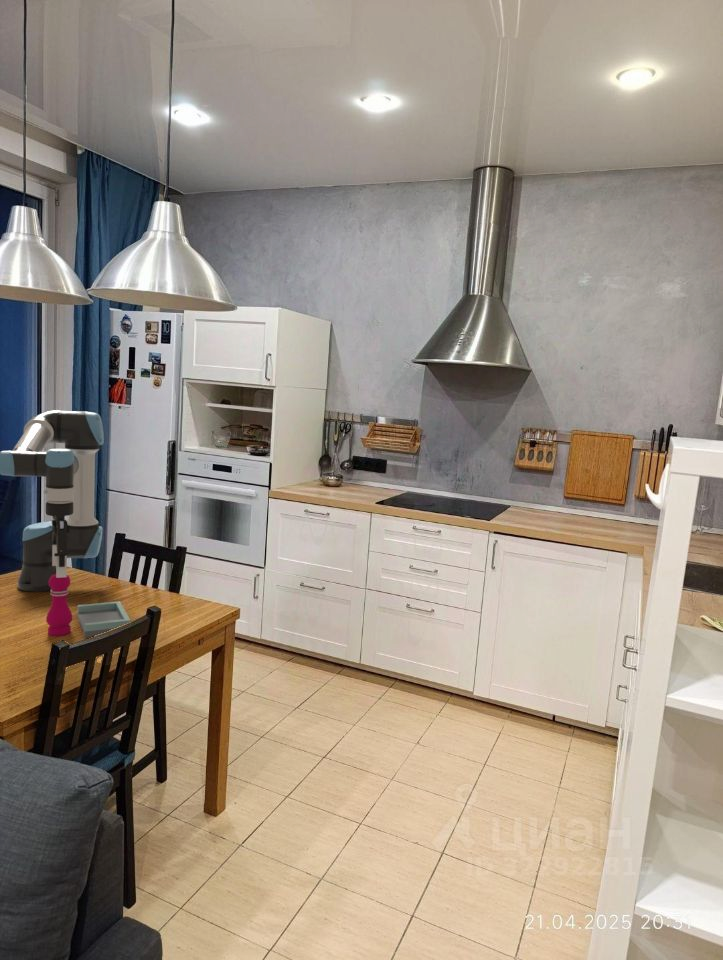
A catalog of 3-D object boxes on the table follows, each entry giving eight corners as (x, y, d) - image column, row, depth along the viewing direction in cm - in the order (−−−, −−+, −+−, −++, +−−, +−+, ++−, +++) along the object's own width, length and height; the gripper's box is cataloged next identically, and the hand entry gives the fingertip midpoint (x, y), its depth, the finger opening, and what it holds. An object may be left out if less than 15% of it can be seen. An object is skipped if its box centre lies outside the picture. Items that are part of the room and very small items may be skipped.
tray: (77, 617, 214) (77, 605, 213) (119, 612, 220) (119, 601, 220) (84, 637, 197) (85, 625, 197) (130, 632, 204) (130, 620, 203)
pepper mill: (45, 637, 196) (45, 572, 193) (46, 629, 202) (46, 565, 200) (72, 635, 199) (72, 571, 196) (72, 627, 205) (72, 564, 202)
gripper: (42, 494, 204) (42, 561, 206) (48, 509, 182) (48, 583, 185) (69, 494, 207) (68, 560, 210) (78, 508, 186) (77, 581, 189)
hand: (59, 571), depth 197 cm, fingers open, 13 cm apart
